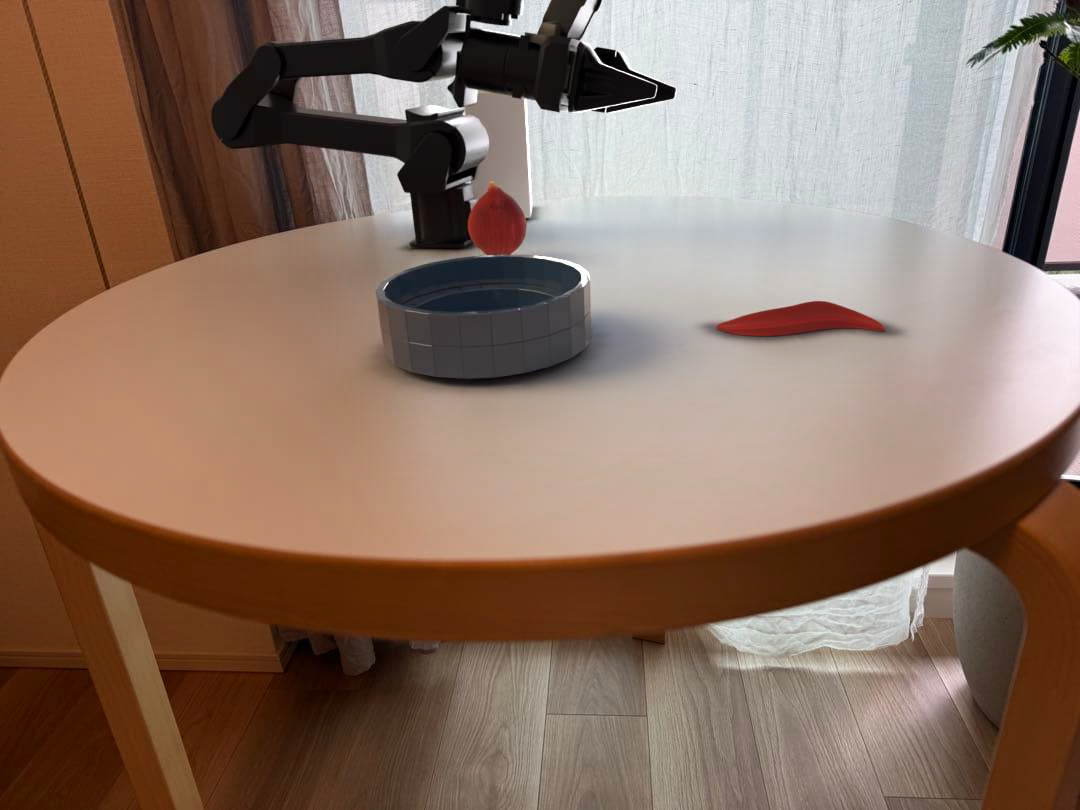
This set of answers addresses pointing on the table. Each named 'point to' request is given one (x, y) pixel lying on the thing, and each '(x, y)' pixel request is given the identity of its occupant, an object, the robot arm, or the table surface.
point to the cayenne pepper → (799, 320)
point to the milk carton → (504, 147)
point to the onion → (497, 222)
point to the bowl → (485, 315)
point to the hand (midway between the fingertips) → (666, 92)
